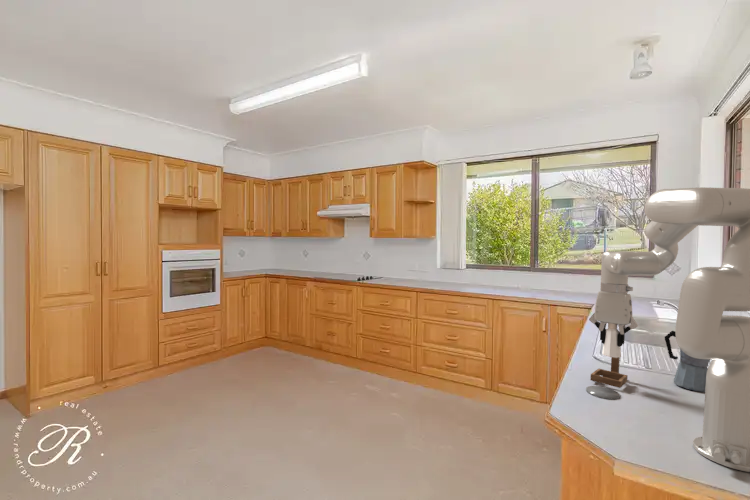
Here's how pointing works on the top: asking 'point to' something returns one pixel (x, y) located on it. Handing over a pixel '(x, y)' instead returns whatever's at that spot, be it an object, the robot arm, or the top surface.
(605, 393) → the coaster
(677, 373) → the moka pot
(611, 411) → the top surface
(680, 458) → the top surface
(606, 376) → the ring stand
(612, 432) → the top surface
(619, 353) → the pepper shaker
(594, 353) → the top surface
